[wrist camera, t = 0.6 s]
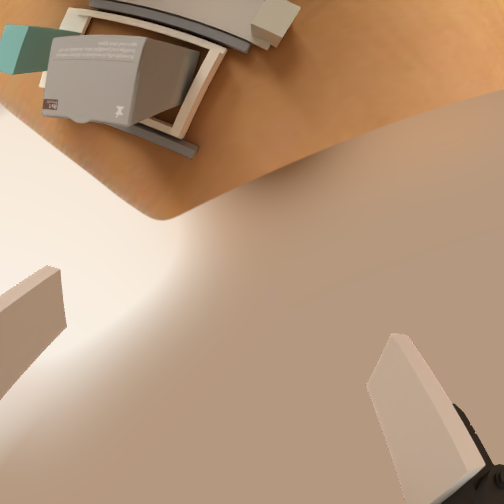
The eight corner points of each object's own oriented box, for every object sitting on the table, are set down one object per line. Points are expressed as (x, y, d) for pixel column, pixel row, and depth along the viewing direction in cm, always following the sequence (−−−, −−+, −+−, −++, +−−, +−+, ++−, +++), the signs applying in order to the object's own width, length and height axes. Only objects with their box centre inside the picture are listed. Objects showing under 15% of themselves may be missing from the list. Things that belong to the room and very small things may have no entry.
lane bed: (127, -43, 18) (119, -49, 16) (279, -1, 23) (281, -7, 21) (60, 102, 28) (50, 104, 26) (195, 153, 33) (191, 159, 31)
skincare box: (201, 51, 26) (158, 25, 13) (186, 110, 30) (133, 132, 17) (132, 43, 25) (52, 27, 12) (119, 99, 29) (36, 120, 15)
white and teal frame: (71, 8, 21) (17, -4, 12) (227, 49, 26) (215, 32, 17) (42, 86, 26) (-15, 97, 17) (184, 137, 31) (154, 161, 22)
